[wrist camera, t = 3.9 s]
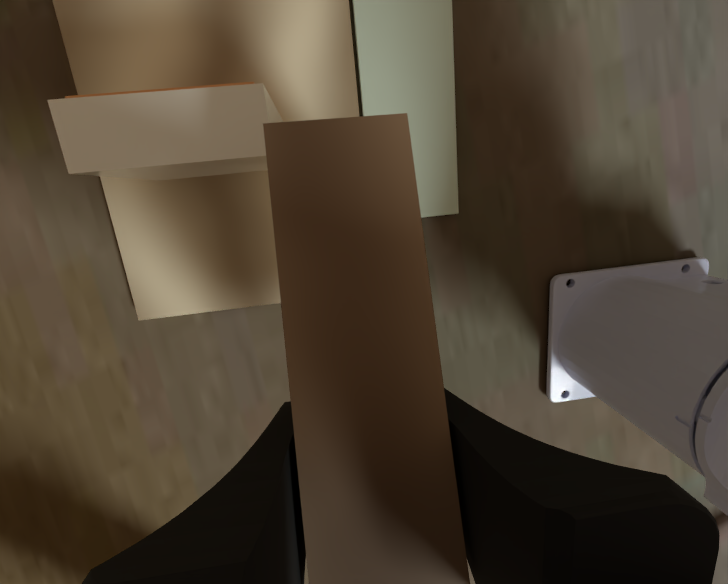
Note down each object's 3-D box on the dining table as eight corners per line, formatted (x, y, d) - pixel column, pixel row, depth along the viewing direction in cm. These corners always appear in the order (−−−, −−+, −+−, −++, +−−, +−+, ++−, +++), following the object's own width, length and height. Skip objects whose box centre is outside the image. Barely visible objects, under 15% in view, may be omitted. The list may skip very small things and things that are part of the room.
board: (337, -96, 16) (338, -111, 15) (373, 287, 21) (375, 291, 20) (40, -84, 15) (25, -99, 14) (145, 315, 20) (138, 320, 19)
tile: (283, 118, 17) (262, 77, 11) (290, 167, 18) (273, 155, 12) (147, 130, 17) (45, 93, 11) (159, 180, 17) (68, 174, 11)
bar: (379, 196, 15) (407, 112, 9) (414, 477, 14) (469, 584, 8) (292, 204, 15) (263, 123, 9) (321, 492, 14) (311, 613, 8)
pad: (445, -115, 16) (448, -122, 16) (456, 213, 20) (458, 213, 20) (342, -111, 16) (342, -119, 16) (372, 222, 20) (373, 222, 19)
